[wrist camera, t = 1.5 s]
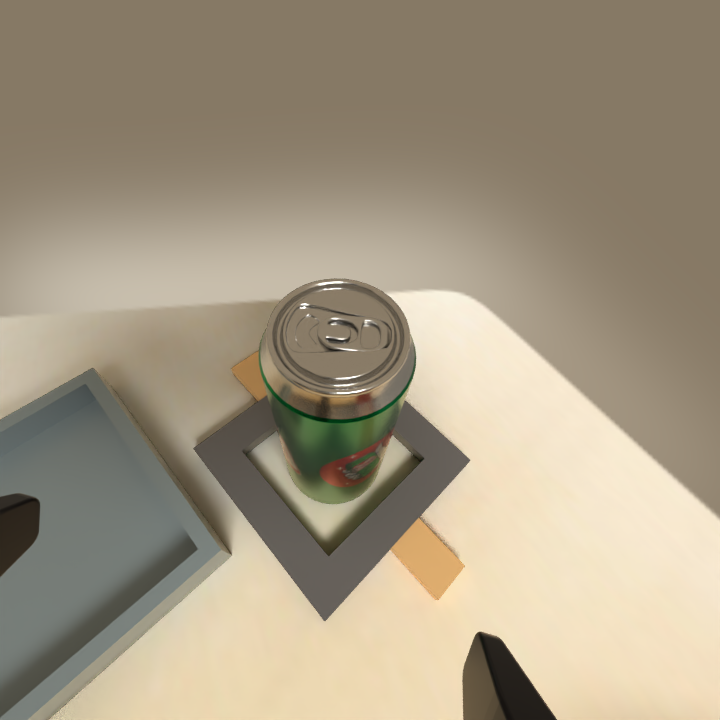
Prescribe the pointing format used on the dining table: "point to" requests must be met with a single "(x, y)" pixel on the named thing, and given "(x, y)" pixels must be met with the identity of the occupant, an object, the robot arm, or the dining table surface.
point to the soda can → (336, 383)
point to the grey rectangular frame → (372, 537)
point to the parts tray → (89, 544)
